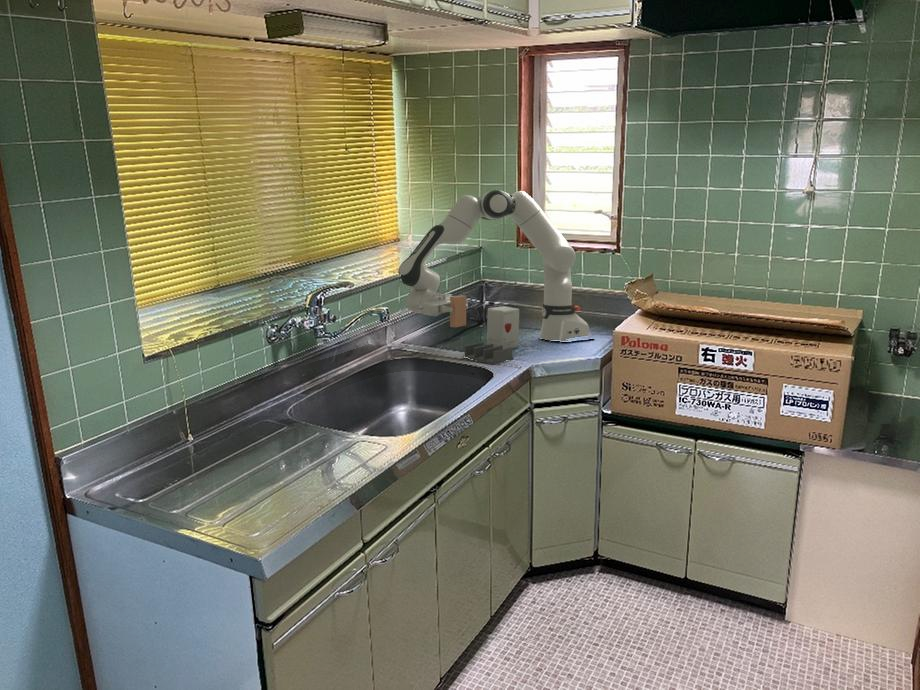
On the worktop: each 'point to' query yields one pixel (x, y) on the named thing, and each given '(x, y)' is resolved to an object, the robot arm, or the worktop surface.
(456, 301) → the tile
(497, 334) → the supplement box
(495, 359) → the dish rack
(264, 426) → the worktop surface
